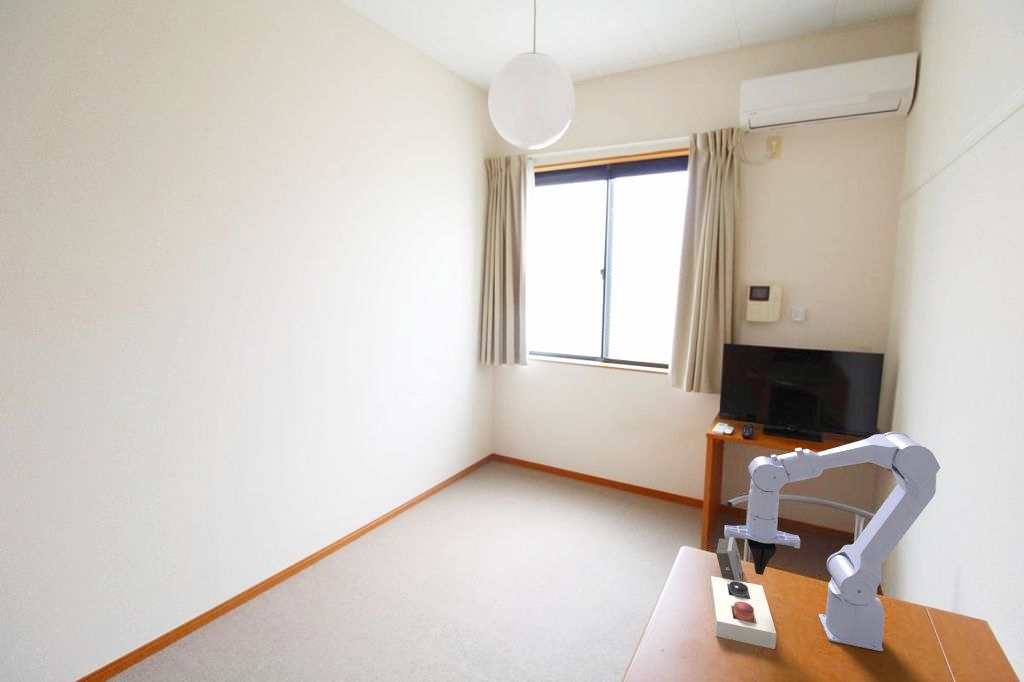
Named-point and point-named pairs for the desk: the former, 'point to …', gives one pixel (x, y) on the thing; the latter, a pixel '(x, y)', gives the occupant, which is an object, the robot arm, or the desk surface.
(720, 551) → the electrical switch
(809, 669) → the desk surface
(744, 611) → the red plug
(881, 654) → the desk surface
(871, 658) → the desk surface
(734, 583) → the graphite plug
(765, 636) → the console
